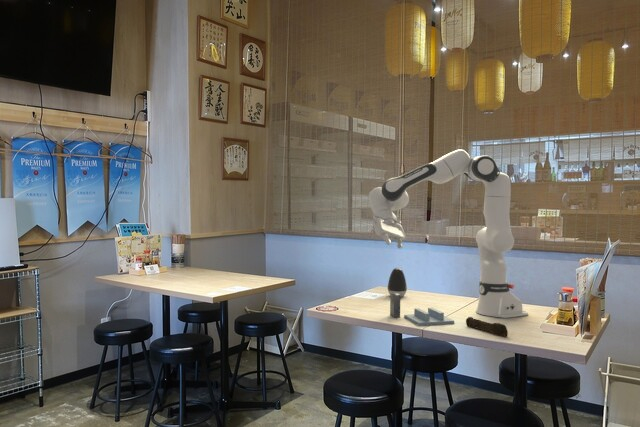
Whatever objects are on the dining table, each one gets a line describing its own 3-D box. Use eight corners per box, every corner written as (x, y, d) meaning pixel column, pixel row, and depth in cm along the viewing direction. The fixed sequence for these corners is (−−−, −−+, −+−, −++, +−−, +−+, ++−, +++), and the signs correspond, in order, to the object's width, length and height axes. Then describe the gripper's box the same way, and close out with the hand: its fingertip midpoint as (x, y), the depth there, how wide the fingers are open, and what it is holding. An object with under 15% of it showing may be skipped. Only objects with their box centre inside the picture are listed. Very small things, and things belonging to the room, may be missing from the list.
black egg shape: (404, 294, 258) (404, 266, 258) (408, 298, 248) (409, 269, 248) (385, 294, 258) (385, 266, 257) (389, 298, 247) (390, 269, 247)
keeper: (437, 315, 210) (437, 306, 210) (454, 323, 197) (454, 313, 197) (404, 317, 206) (404, 307, 206) (418, 325, 193) (419, 315, 193)
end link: (396, 315, 211) (396, 292, 210) (400, 317, 207) (400, 294, 206) (390, 315, 210) (390, 292, 210) (393, 317, 206) (394, 294, 206)
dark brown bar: (465, 326, 193) (465, 315, 193) (472, 325, 195) (472, 314, 195) (501, 339, 176) (502, 326, 176) (509, 337, 178) (509, 325, 178)
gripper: (377, 210, 209) (387, 238, 202) (402, 221, 224) (412, 246, 217) (366, 217, 212) (375, 244, 206) (392, 227, 227) (401, 253, 220)
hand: (394, 246), depth 211 cm, fingers open, 8 cm apart
